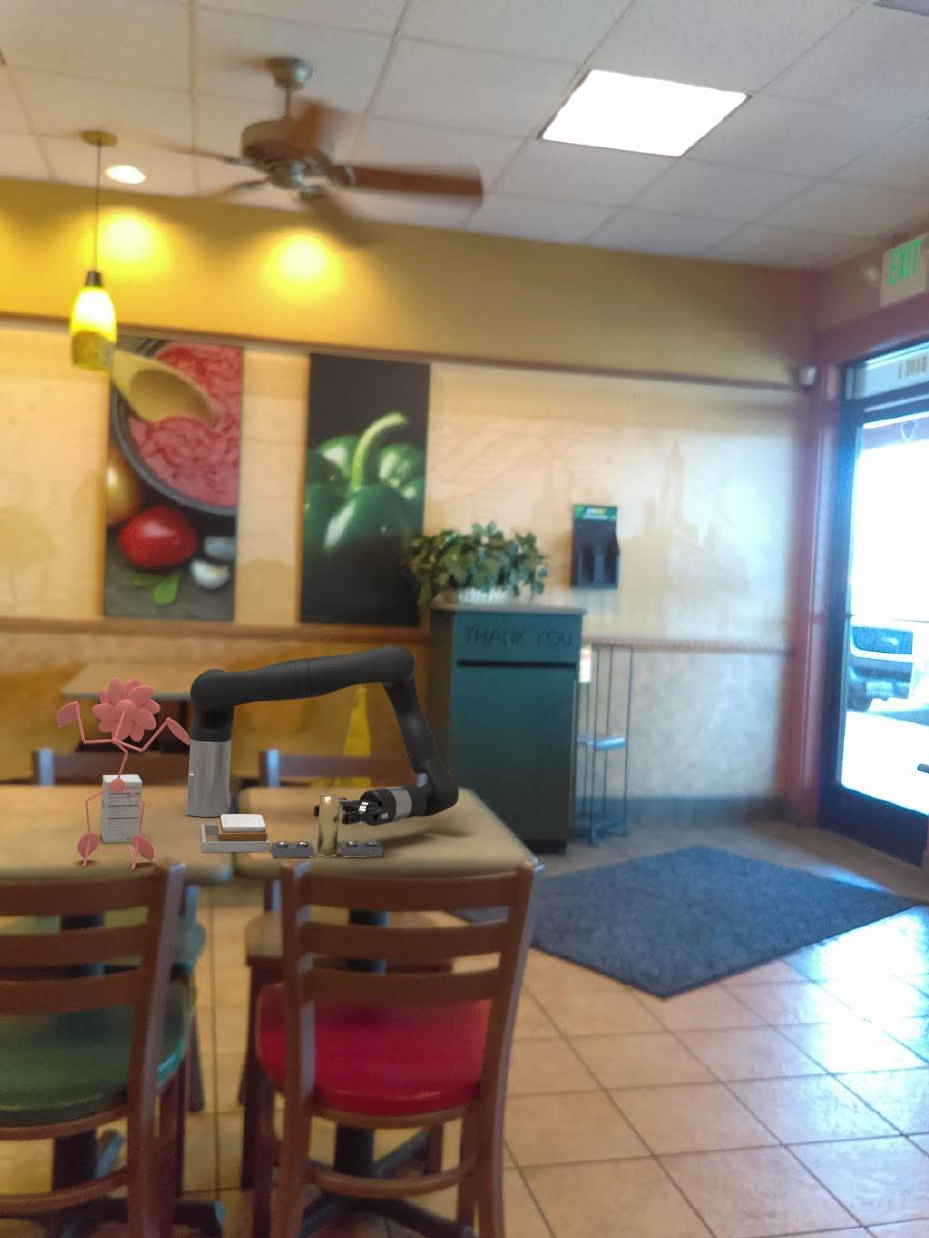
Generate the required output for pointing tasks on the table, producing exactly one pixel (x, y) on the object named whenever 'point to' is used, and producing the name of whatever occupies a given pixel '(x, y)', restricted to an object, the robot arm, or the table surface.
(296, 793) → the table surface
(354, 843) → the chain end
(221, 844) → the coaster tray
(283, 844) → the block
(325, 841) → the link pin
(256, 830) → the soap dish
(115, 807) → the supplement box
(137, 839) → the pink flower figurine
